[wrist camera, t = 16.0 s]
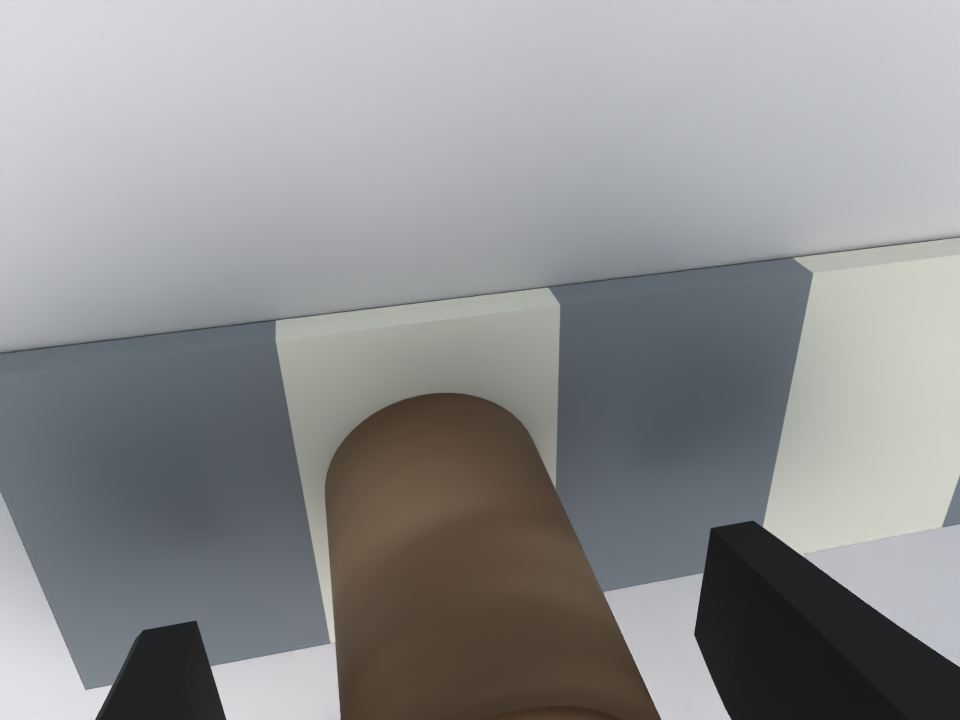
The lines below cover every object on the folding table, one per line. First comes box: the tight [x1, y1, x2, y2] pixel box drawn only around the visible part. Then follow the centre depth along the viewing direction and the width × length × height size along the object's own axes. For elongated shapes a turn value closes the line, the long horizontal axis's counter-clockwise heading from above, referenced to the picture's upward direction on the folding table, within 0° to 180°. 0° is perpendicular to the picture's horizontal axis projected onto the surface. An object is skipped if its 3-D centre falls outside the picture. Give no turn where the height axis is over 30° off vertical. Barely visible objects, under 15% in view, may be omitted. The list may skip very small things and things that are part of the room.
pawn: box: [325, 393, 661, 720], centre depth 10 cm, size 3×3×7 cm
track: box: [0, 238, 960, 690], centre depth 14 cm, size 24×6×1 cm, turn 91°
